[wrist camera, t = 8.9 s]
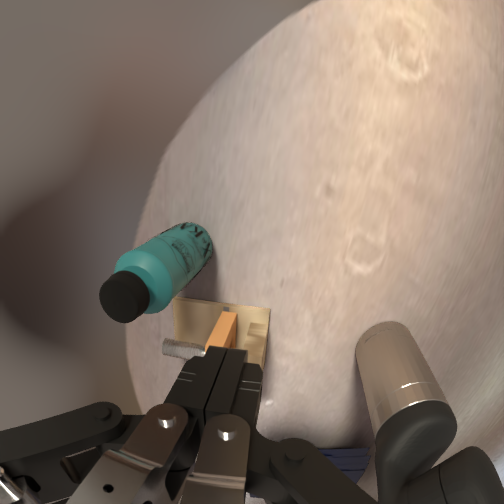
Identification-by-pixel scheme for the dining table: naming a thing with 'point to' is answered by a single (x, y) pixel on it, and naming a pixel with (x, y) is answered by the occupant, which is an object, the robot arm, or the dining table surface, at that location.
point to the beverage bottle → (155, 272)
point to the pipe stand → (203, 322)
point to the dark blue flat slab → (346, 461)
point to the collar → (224, 331)
